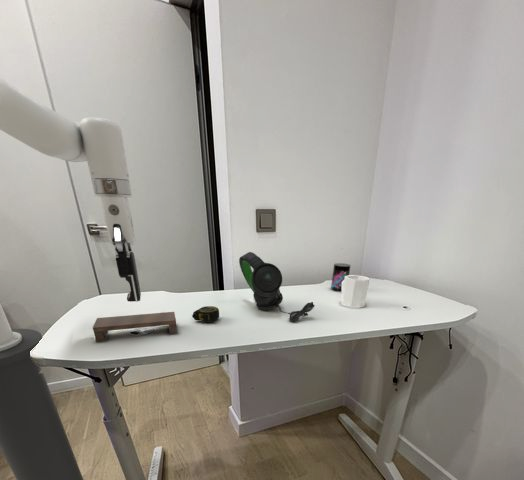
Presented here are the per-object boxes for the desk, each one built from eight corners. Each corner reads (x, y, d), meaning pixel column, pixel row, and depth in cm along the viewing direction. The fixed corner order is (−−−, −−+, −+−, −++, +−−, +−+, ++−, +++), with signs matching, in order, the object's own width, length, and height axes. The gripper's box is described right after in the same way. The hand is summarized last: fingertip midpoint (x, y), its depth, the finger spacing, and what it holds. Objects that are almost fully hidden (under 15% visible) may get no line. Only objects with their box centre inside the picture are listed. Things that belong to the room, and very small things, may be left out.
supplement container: (327, 288, 126) (330, 263, 121) (340, 287, 128) (344, 262, 124) (336, 292, 120) (340, 266, 116) (349, 291, 123) (354, 266, 118)
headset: (282, 341, 97) (236, 284, 108) (314, 320, 99) (267, 266, 110) (280, 314, 80) (227, 250, 91) (319, 289, 82) (263, 229, 93)
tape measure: (205, 315, 93) (204, 303, 91) (223, 318, 91) (223, 307, 89) (192, 322, 87) (191, 310, 86) (211, 326, 85) (210, 314, 83)
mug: (369, 306, 105) (374, 279, 100) (348, 308, 102) (353, 281, 98) (349, 297, 115) (354, 272, 110) (330, 298, 112) (334, 273, 108)
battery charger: (125, 295, 77) (117, 250, 72) (141, 294, 79) (133, 250, 73) (124, 303, 72) (114, 255, 66) (140, 302, 73) (132, 255, 68)
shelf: (96, 342, 74) (92, 327, 72) (100, 331, 80) (96, 317, 78) (177, 333, 80) (175, 320, 78) (175, 324, 85) (174, 311, 84)
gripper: (128, 189, 58) (143, 278, 66) (133, 190, 72) (144, 264, 80) (85, 187, 55) (106, 280, 64) (99, 189, 70) (114, 265, 78)
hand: (127, 270), depth 72 cm, fingers closed on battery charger, 7 cm apart
